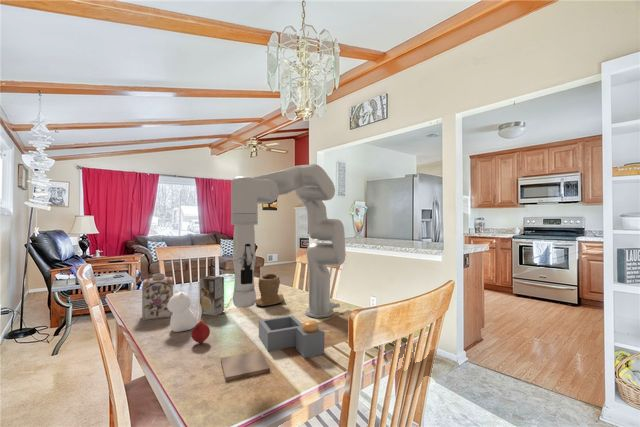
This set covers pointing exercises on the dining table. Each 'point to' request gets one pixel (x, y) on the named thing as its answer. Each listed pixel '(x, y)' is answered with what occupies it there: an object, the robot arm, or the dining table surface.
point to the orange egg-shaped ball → (310, 326)
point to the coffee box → (212, 295)
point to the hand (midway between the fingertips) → (244, 280)
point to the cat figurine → (182, 312)
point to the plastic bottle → (243, 286)
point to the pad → (244, 365)
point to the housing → (290, 336)
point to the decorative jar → (156, 297)
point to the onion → (200, 332)
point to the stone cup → (269, 290)
